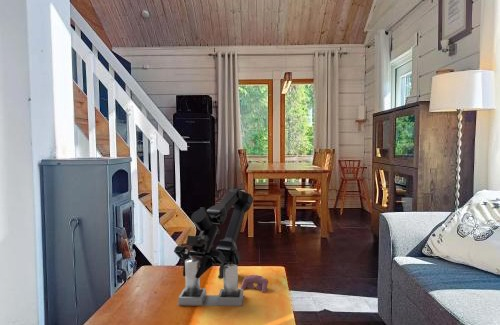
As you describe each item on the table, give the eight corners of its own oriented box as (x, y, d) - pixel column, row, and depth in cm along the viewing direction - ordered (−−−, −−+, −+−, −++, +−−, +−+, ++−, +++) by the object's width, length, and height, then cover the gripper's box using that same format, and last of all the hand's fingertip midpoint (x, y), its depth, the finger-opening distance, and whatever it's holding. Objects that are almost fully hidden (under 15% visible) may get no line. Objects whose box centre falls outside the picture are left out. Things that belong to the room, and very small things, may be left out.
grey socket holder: (244, 298, 128) (244, 288, 128) (242, 309, 120) (242, 298, 120) (183, 297, 130) (183, 288, 130) (177, 308, 121) (177, 297, 121)
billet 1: (192, 290, 129) (191, 257, 128) (203, 293, 126) (202, 259, 125) (182, 295, 125) (181, 261, 124) (193, 298, 122) (192, 263, 121)
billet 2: (232, 296, 128) (232, 263, 127) (240, 301, 124) (240, 266, 124) (220, 300, 125) (220, 266, 124) (228, 304, 121) (228, 269, 120)
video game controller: (267, 296, 134) (269, 277, 137) (264, 295, 130) (266, 275, 133) (242, 293, 137) (245, 274, 140) (239, 292, 133) (241, 272, 136)
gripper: (176, 223, 132) (157, 262, 122) (220, 227, 124) (204, 269, 114) (188, 239, 139) (172, 277, 130) (231, 244, 131) (217, 284, 122)
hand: (190, 276), depth 124 cm, fingers closed on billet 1, 5 cm apart
